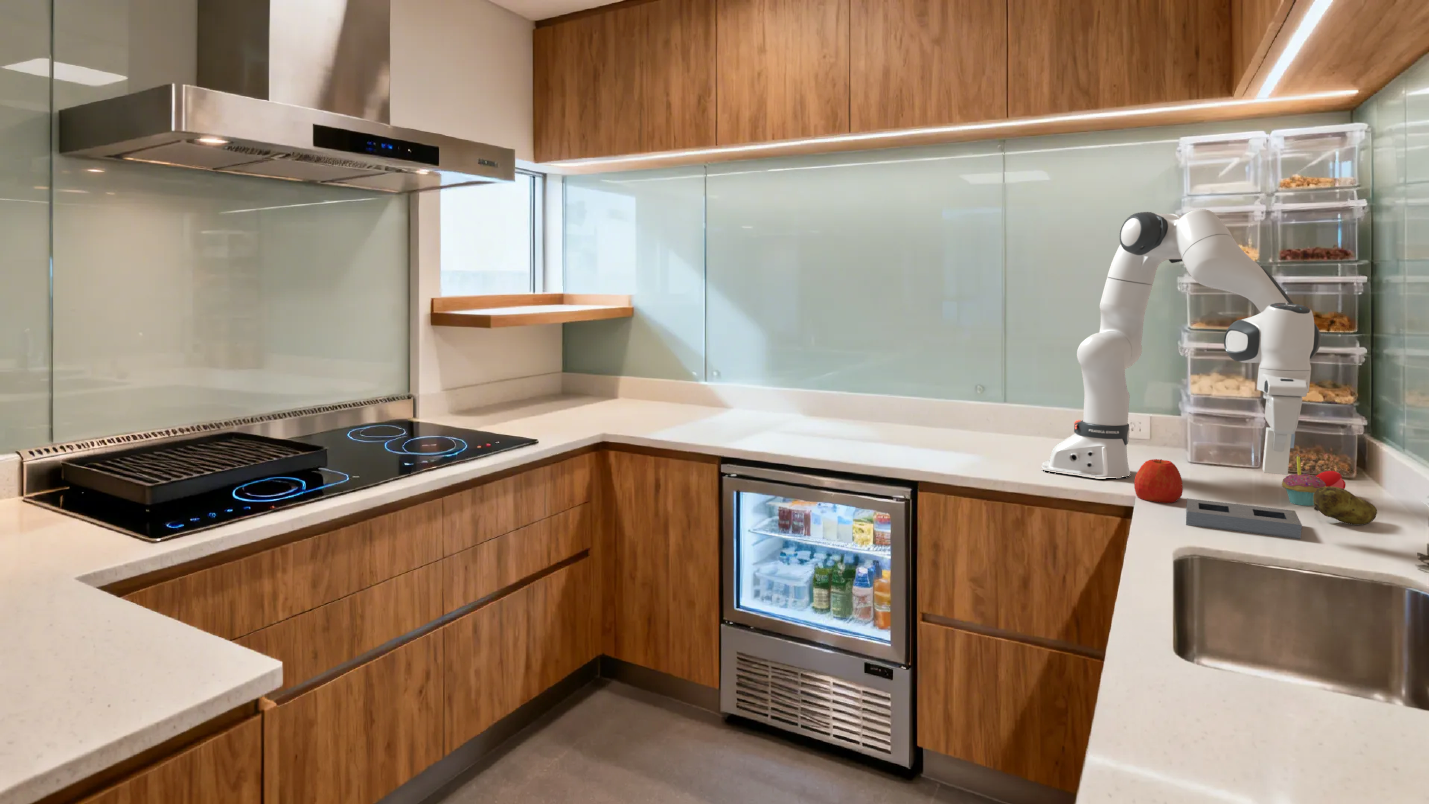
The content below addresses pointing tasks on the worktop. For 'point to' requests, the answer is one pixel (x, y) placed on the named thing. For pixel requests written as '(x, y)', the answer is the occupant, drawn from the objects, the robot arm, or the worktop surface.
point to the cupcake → (1302, 486)
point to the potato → (1343, 506)
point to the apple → (1158, 482)
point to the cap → (1332, 479)
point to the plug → (1276, 454)
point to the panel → (1243, 518)
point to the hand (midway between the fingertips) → (1276, 448)
